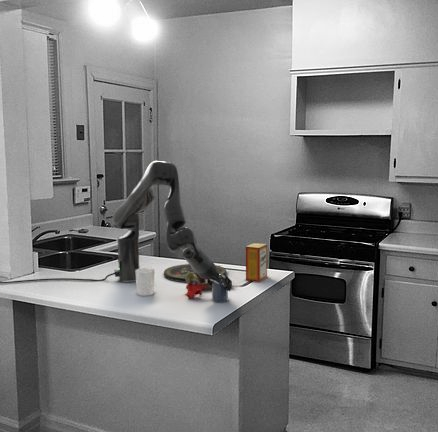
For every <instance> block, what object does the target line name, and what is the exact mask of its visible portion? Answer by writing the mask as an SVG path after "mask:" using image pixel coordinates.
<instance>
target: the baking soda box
mask: <svg viewBox="0 0 438 432" xmlns="http://www.w3.org/2000/svg"><path fill="white" fill-rule="evenodd" d="M266 278H268V243H258V242H253V243H250V244H248V245H246V246H245V281H249V282H258V283H260V282H262V281H263V280H265V279H266Z"/></svg>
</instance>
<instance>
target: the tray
mask: <svg viewBox="0 0 438 432" xmlns="http://www.w3.org/2000/svg"><path fill="white" fill-rule="evenodd" d="M195 278H196V277H195ZM202 284H203V286H204V287H206V288H203V289H202V291H201V292H203V291H212V288H211V287H210V286H209V285H208V284H207V283H205V282H204V281H203V282H202V281H201V282H200V285H199V286H202ZM230 285H231V289H233V281H232V280H231V283H230Z"/></svg>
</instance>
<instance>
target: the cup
mask: <svg viewBox="0 0 438 432" xmlns="http://www.w3.org/2000/svg"><path fill="white" fill-rule="evenodd" d="M221 275H222V274H221ZM226 275H227V276H228V277H229V275H228V274H226ZM219 281H220V278H219V279H218V282H219ZM222 283H224V282H223V281H222ZM211 294H212V295H211V296H212V297H211V299H212V302H214V303H226V302H228V300H229V291H227V290H226V288H225V287H224V286H223V285H221V284H220V285H219V284H217V283H216V282H214V281H212V290H211Z"/></svg>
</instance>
